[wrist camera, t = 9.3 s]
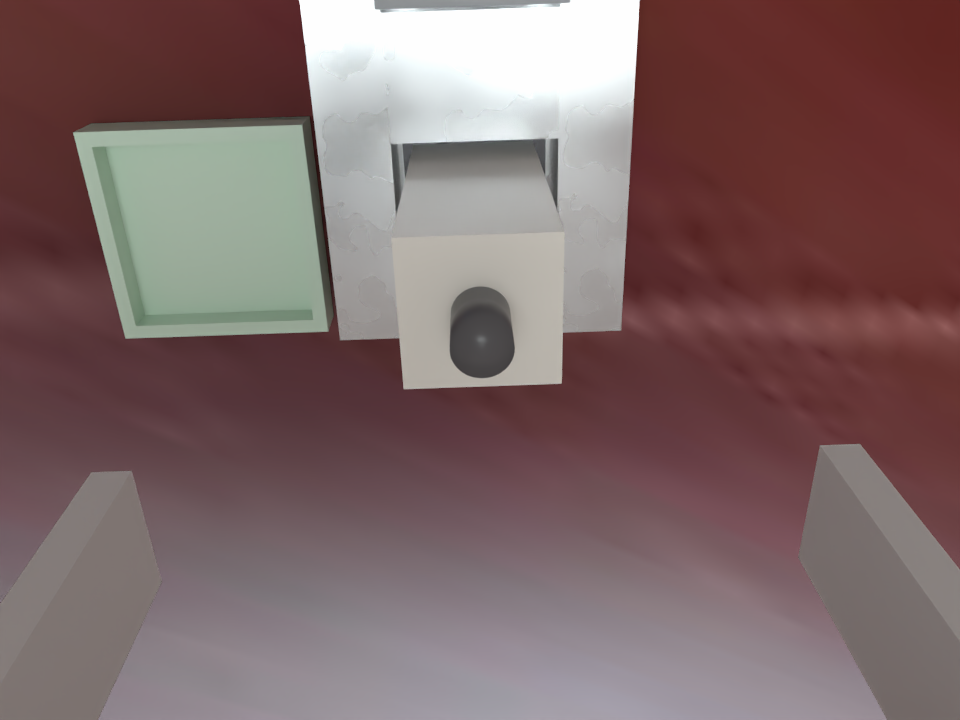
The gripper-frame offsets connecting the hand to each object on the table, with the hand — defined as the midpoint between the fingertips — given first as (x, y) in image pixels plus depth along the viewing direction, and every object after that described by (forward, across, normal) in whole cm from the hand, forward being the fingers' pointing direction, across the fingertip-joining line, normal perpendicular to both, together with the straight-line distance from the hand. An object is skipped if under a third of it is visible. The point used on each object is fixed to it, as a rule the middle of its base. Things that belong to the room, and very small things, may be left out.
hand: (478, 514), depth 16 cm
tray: (+23, -11, -1) cm, 25 cm away
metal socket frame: (+23, 0, +5) cm, 23 cm away
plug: (+22, 0, 0) cm, 22 cm away
